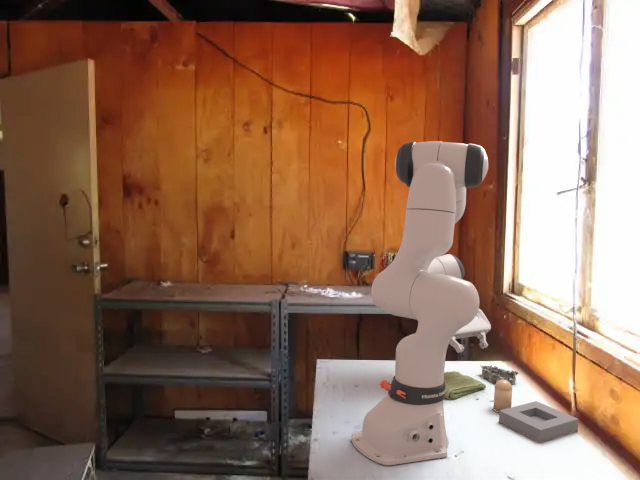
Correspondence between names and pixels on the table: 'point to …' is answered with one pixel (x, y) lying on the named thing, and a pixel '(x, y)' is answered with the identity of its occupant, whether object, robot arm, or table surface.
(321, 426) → the table surface
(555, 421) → the grey square peg hole
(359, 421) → the table surface
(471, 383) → the washcloth
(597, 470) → the table surface
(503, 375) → the egg carton
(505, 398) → the peach dome-topped peg
